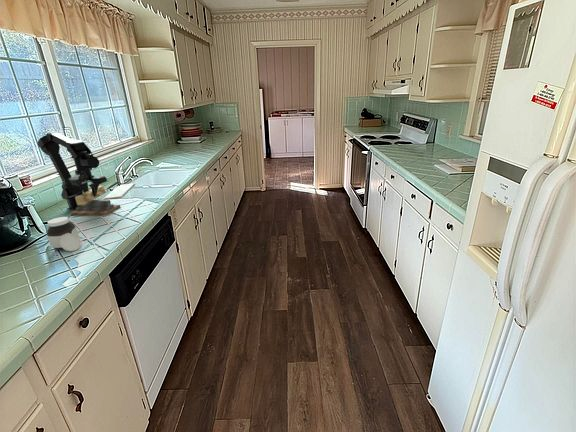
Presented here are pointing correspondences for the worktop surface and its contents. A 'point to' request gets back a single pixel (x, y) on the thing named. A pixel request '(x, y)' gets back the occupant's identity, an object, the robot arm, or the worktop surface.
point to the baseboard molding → (119, 191)
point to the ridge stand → (95, 208)
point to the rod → (89, 196)
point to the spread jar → (63, 234)
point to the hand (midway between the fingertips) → (91, 196)
